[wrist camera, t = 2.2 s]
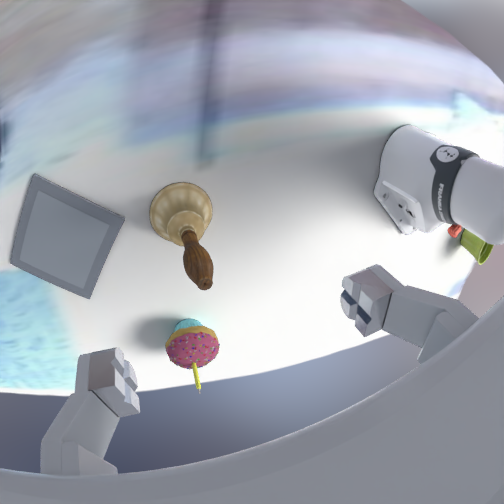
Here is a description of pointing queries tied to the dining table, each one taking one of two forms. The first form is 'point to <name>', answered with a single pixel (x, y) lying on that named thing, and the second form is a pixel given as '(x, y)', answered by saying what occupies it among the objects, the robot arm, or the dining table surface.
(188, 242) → the hand bell
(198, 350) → the cupcake
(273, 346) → the dining table surface
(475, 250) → the plant pot
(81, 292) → the plate
